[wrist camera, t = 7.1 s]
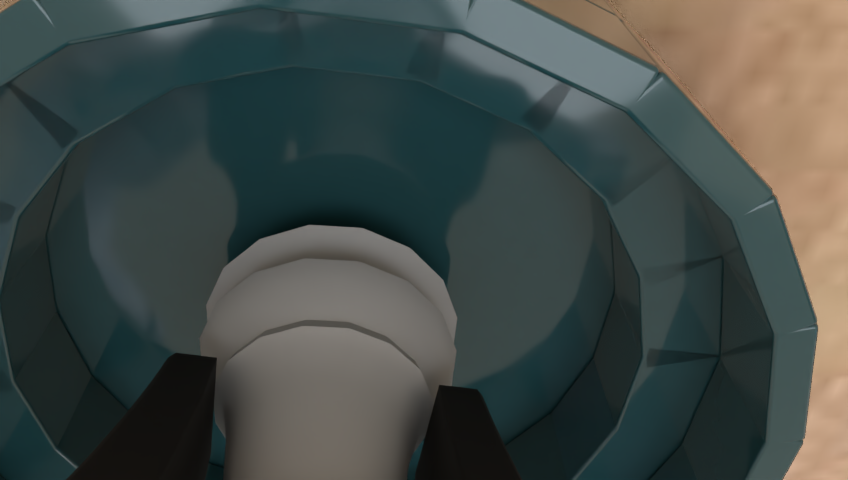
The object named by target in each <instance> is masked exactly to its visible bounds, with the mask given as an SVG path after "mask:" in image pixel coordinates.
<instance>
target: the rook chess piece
mask: <svg viewBox="0 0 848 480" xmlns="http://www.w3.org/2000/svg"><path fill="white" fill-rule="evenodd" d="M206 309H207V324H206V326H205V328H204V330H203V332H202V334H201V336H200V350H201V356H208V357H216V358H217V366H216V382H215V397H214V414H215V423H216V425H217V426H218V428H219V429H220V431H221V432H222V434H223V435H224V437H225V438H226V445H225V460H224V476H223V480H407V476H408V469H409V464H410V461H411V458H412V455H413V453H414V452H415V450H416V449H417V448H418V446H419V445H420V444H421V442H422V441H423V439H424V438H425V436H426V432H427V428H428V424H429V421H430V417H431V413H432V410H433V406H434V402H435V398H436V395H437V391H438V387H439V385H446V386H452V379H453V372H454V365H455V358H456V348H455V345H454V338H455V331H456V324H457V316H456V313H455V310H454V308H453V305H452V302H451V300H450V297H449V294H448V292H447V289H446V286H445V283H444V281H443V279H442V278H441V277H440V276H439V275H438V274H437V273H436V272H434V271H433V270H432V269H431V268H430V267H429V266H428V265H427V264H426V263H425V262H424V261H423V260H422V259H421V258H420V257H419V256H418V255H417V254H416V253H415V252H414V251H413V250H412V249H411V248H409V247H407V246H405V245H402V244H400V243H397V242H395V241H393V240H390V239H388V238H385V237H383V236H381V235H378V234H376V233H374V232H371V231H369V230H366V229H364V228H355V227H338V226H321V225H307V226H303V227H300V228H296V229H293V230H289V231H286V232H282V233H279V234H276V235H272V236H269V237H265V238H262V239H259V240H258V241H257V242H255V243H254V244H253V245H252V246H250V247H249V248H248V249H247V250H245V251H244V252H243V253H242V254H240V255H239V256H238V257H237V258H235V259H234V260H233V261H231V262H230V263H229V264H228V265H226V266H225V267H224V268H223V270H222V272H221V274H220V276H219V279H218V281H217V283H216V285H215V287H214V289H213V291H212V294H211V296H210V298H209V300H208V302H207V304H206Z"/></svg>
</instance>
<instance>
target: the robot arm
mask: <svg viewBox="0 0 848 480" xmlns="http://www.w3.org/2000/svg"><path fill="white" fill-rule="evenodd" d="M216 366H217V358H216V357H208V356H200V355H191V354H183V353H174V354H173V355H171V356H170V357H168V358H167V360H166V361H165V363H164V364H163V366H162V367H161V369H160V370H159V371H158V373H157V374H156V376H155V377H154V378H153V380H152V381H151V382H150V384H149V385H148V386H147V388H146V389H145V390H144V392H143V393H142V394H141V395H140V397H139V398H138V399H137V400H136V402H135V403H134V404H133V405H132V407H131V408H130V409H129V410H128V412H127V413H126V414H125V415H124V416H123V418H122V419H121V420H120V421H119V422H118V423H117V425H116V426H115V427H114V428H113V429H112V430H111V431H110V433H109V434H108V435H107V436H106V437H105V438H104V439H103V440H102V442H101V443H100V444H99V445H98V446H97V447H96V448H95V450H94V451H93V452H92V453H91V454H90V455H89V456H88V457H87V458H86V460H85V461H84V462H83V463H82V464H81V465H80V466H79V467H78V468H77V469H76V470H75V471H74V472H73V473H72V474H71V475H70V476H69V477H68V478H67V479H66V480H205V477H206V472H207V468H208V463H209V459H210V454H211V444H212V429H213V413H214V397H215V382H216ZM415 480H522V478H521V476H520V474H519V472H518V470H517V468H516V467H515V465H514V463H513V461H512V459H511V457H510V455H509V453H508V451H507V449H506V447H505V445H504V443H503V441H502V438H501V436H500V434H499V432H498V430H497V428H496V426H495V423H494V421H493V419H492V417H491V415H490V412H489V410H488V408H487V406H486V403H485V401H484V398H483V396H482V395H481V393H480V392H479V391H478V389H471V388H462V387H454V386H446V385H439V387H438V391H437V395H436V398H435V402H434V406H433V410H432V413H431V417H430V421H429V424H428V428H427V432H426V436H425V439H424V443H423V447H422V450H421V454H420V458H419V462H418V465H417V469H416V473H415Z"/></svg>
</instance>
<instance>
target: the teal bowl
mask: <svg viewBox="0 0 848 480" xmlns="http://www.w3.org/2000/svg"><path fill="white" fill-rule="evenodd" d="M307 225H321V226H338V227H355V228H364V229H366V230H369V231H371V232H374V233H376V234H378V235H381V236H383V237H385V238H388V239H390V240H393V241H395V242H397V243H400V244H402V245H405V246H407V247H409V248H411V249H412V250H413V251H414V252H415V253H416V254H417V255H418V256H419V257H420V258H421V259H422V260H423V261H424V262H425V263H426V264H427V265H428V266H429V267H430V268H431V269H432V270H433V271H434V272H436V273H437V274H438V275H439V276H440V277H441V278H442V279H443V281H444V283H445V286H446V289H447V292H448V294H449V297H450V300H451V302H452V305H453V308H454V310H455V313H456V316H457V324H456V331H455V338H454V345H455V348H456V358H455V365H454V372H453V379H452V386H454V387H462V388H471V389H478V391H479V392H480V393H481V395H482V396H483V398H484V401H485V403H486V406H487V408H488V410H489V412H490V415H491V417H492V419H493V421H494V423H495V426H496V428H497V430H498V432H499V434H500V436H501V438H502V441H503V443H504V445H505V447H506V449H507V451H508V453H509V455H510V457H511V459H512V461H513V463H514V465H515V467H516V468H517V470H518V472H519V474H520V476H521V478H522V480H783V478H784V476H785V475H786V473H787V471H788V469H789V467H790V466H791V464H792V462H793V460H794V459H795V457H796V455H797V453H798V451H799V450H800V448H801V446H802V444H803V439H804V438H805V431H806V423H807V414H808V406H809V398H810V390H811V382H812V373H813V365H814V357H815V349H816V341H817V332H818V325H817V317H816V314H815V311H814V308H813V304H812V301H811V298H810V295H809V292H808V289H807V286H806V283H805V280H804V277H803V274H802V271H801V268H800V265H799V262H798V259H797V256H796V253H795V250H794V247H793V244H792V241H791V238H790V235H789V232H788V229H787V226H786V223H785V220H784V217H783V214H782V211H781V207H780V204H779V201H778V198H777V196H776V195H775V194H774V193H773V190H772V188H771V187H770V186H769V184H768V183H767V182H766V181H765V180H764V179H763V177H762V176H761V175H760V174H759V173H758V171H757V170H756V169H755V168H754V167H753V166H752V164H751V163H750V162H749V161H748V160H747V158H746V157H745V156H744V155H743V154H742V153H741V151H740V150H739V149H738V148H737V147H736V145H735V144H734V143H733V142H732V141H731V140H730V138H729V137H728V136H727V135H726V134H725V132H724V131H723V130H722V129H721V128H720V127H719V125H718V124H717V123H716V122H715V121H714V119H713V118H712V117H711V116H710V115H709V114H708V112H707V111H706V110H705V109H704V108H703V107H702V105H701V104H700V103H699V102H698V101H697V99H696V98H695V97H694V96H693V95H692V94H691V92H690V91H689V90H688V89H687V88H686V86H685V85H684V84H683V83H682V82H681V81H680V79H679V78H678V77H677V76H676V75H675V74H674V72H673V71H672V70H671V69H670V68H669V67H668V66H667V65H666V64H665V63H664V61H663V60H662V59H661V58H660V57H659V56H658V55H657V54H656V53H655V52H654V50H653V49H652V48H651V47H650V46H649V45H648V44H647V43H646V42H645V41H644V39H643V38H642V37H641V36H640V35H639V34H638V33H637V32H636V31H635V30H634V28H633V27H632V26H631V25H630V24H629V23H628V22H627V21H626V20H625V19H624V17H623V16H622V15H621V14H620V13H619V12H618V11H617V10H616V9H615V7H614V6H613V5H612V4H611V3H610V2H609V1H608V0H12V1H10V2H9V3H7V4H6V5H4V6H3V7H1V8H0V480H66V479H67V478H68V477H69V476H70V475H71V474H72V473H73V472H74V471H75V470H76V469H77V468H78V467H79V466H80V465H81V464H82V463H83V462H84V461H85V460H86V458H87V457H88V456H89V455H90V454H91V453H92V452H93V451H94V450H95V448H96V447H97V446H98V445H99V444H100V443H101V442H102V440H103V439H104V438H105V437H106V436H107V435H108V434H109V433H110V431H111V430H112V429H113V428H114V427H115V426H116V425H117V423H118V422H119V421H120V420H121V419H122V418H123V416H124V415H125V414H126V413H127V412H128V410H129V409H130V408H131V407H132V405H133V404H134V403H135V402H136V400H137V399H138V398H139V397H140V395H141V394H142V393H143V392H144V390H145V389H146V388H147V386H148V385H149V384H150V382H151V381H152V380H153V378H154V377H155V376H156V374H157V373H158V371H159V370H160V369H161V367H162V366H163V364H164V363H165V361H166V360H167V358H168V357H170V356H171V355H173V354H174V353H183V354H191V355H200V356H201V350H200V336H201V334H202V332H203V330H204V328H205V326H206V324H207V309H206V304H207V302H208V300H209V298H210V296H211V294H212V291H213V289H214V287H215V285H216V283H217V281H218V279H219V276H220V274H221V272H222V270H223V268H224V267H225V266H226V265H228V264H229V263H230V262H231V261H233V260H234V259H235V258H237V257H238V256H239V255H240V254H242V253H243V252H244V251H245V250H247V249H248V248H249V247H250V246H252V245H253V244H254V243H255V242H257V241H258V240H259V239H262V238H265V237H269V236H272V235H276V234H279V233H282V232H286V231H289V230H293V229H296V228H300V227H303V226H307ZM424 439H425V438H424ZM424 439H423V441H422V442H421V444H420V445H419V446H418V448H417V449H416V450H415V452H414V453H413V455H412V458H411V461H410V464H409V469H408V476H407V480H415V473H416V469H417V465H418V462H419V458H420V454H421V450H422V447H423V443H424ZM225 445H226V438H225V437H224V435H223V434H222V432H221V431H220V429H219V428H218V426H217V425H216V423H215V414H214V413H213V429H212V444H211V454H210V459H209V463H208V468H207V472H206V477H205V480H223V476H224V460H225Z"/></svg>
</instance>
